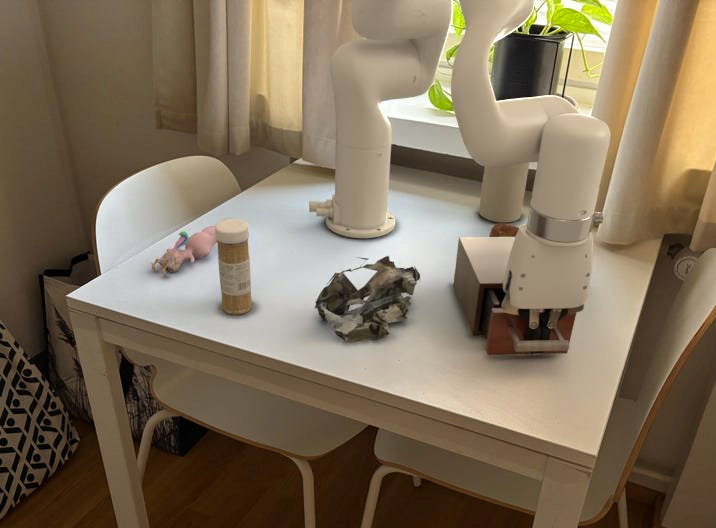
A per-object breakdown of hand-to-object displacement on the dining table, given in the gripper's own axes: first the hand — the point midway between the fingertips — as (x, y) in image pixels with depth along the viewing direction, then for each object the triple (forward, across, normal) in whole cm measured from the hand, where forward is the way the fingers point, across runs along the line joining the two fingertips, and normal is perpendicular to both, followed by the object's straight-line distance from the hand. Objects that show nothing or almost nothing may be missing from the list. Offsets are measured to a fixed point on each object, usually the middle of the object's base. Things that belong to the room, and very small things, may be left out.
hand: (534, 348), depth 102 cm
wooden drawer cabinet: (+3, 0, -16) cm, 16 cm away
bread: (+3, -9, -31) cm, 32 cm away
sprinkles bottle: (+3, +40, -17) cm, 44 cm away
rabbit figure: (+3, +47, -33) cm, 58 cm away
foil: (+3, +21, -13) cm, 25 cm away
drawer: (+2, 0, -6) cm, 7 cm away
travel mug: (+3, -8, -50) cm, 51 cm away
